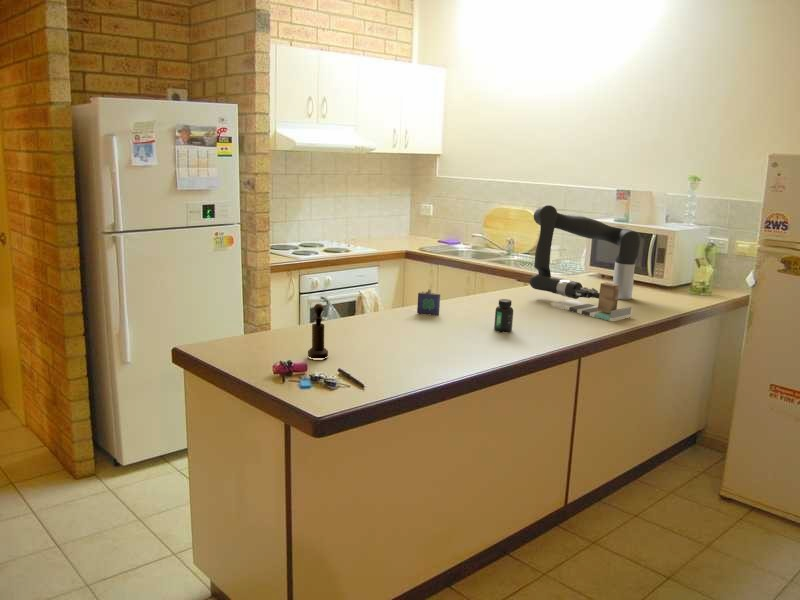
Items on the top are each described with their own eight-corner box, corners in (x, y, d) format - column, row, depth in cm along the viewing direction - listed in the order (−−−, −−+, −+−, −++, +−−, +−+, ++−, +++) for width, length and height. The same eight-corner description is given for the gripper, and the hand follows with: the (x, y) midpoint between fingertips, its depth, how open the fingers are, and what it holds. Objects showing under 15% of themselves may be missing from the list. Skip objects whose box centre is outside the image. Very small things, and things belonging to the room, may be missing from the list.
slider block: (604, 309, 301) (607, 282, 298) (616, 312, 297) (619, 284, 294) (597, 310, 298) (600, 283, 295) (609, 313, 293) (612, 286, 291)
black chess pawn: (308, 354, 226) (309, 301, 222) (328, 354, 227) (329, 301, 223) (307, 360, 220) (308, 306, 216) (327, 361, 220) (328, 306, 216)
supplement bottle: (498, 333, 263) (500, 302, 260) (491, 328, 269) (493, 298, 266) (514, 332, 264) (517, 302, 262) (507, 327, 271) (509, 298, 268)
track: (569, 302, 320) (570, 293, 319) (630, 317, 297) (631, 307, 296) (550, 306, 311) (551, 296, 310) (611, 321, 288) (613, 311, 287)
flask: (439, 314, 288) (440, 288, 285) (439, 315, 285) (440, 290, 282) (417, 312, 288) (418, 287, 286) (416, 314, 285) (418, 289, 283)
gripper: (561, 282, 306) (594, 289, 293) (578, 279, 314) (612, 286, 302) (559, 298, 308) (592, 306, 295) (577, 295, 316) (610, 303, 303)
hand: (602, 296), depth 298 cm, fingers closed
